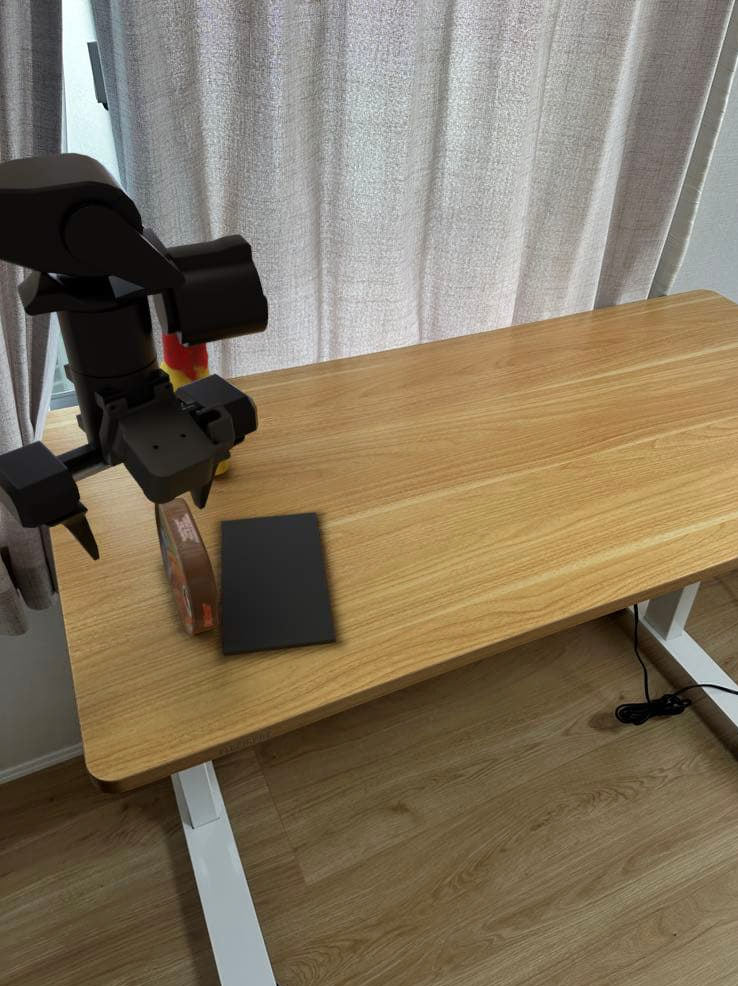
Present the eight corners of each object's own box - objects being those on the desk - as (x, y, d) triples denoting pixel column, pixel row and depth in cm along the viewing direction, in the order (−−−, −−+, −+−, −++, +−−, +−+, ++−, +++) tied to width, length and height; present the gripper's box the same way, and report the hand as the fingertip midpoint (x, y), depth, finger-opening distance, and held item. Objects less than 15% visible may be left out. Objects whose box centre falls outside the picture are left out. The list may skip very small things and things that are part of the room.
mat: (223, 655, 71) (222, 652, 71) (221, 523, 85) (221, 520, 85) (335, 642, 73) (335, 639, 73) (316, 514, 87) (315, 511, 87)
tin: (158, 549, 82) (144, 484, 77) (189, 541, 83) (178, 476, 78) (194, 656, 71) (181, 588, 66) (229, 644, 72) (219, 577, 67)
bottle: (247, 475, 92) (230, 315, 80) (196, 495, 89) (170, 331, 77) (201, 426, 99) (178, 273, 87) (152, 443, 96) (121, 287, 84)
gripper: (27, 464, 45) (85, 651, 54) (297, 358, 55) (305, 530, 65) (-48, 384, 51) (15, 564, 60) (207, 303, 61) (226, 467, 71)
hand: (149, 530), depth 64 cm, fingers open, 9 cm apart
